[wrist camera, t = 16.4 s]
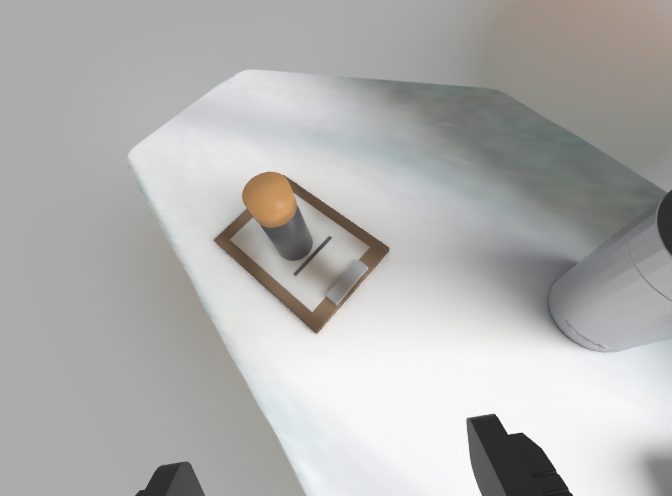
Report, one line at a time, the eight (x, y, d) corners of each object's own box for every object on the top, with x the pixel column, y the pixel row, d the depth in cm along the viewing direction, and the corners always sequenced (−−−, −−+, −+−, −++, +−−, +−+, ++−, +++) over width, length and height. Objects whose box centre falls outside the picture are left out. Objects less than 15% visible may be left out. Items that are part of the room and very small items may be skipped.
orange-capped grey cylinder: (294, 221, 46) (266, 164, 36) (321, 240, 44) (300, 186, 34) (269, 247, 45) (232, 196, 34) (295, 268, 43) (265, 221, 32)
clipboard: (284, 177, 51) (281, 170, 50) (389, 250, 43) (389, 244, 42) (216, 242, 48) (210, 236, 46) (316, 333, 40) (313, 330, 38)
